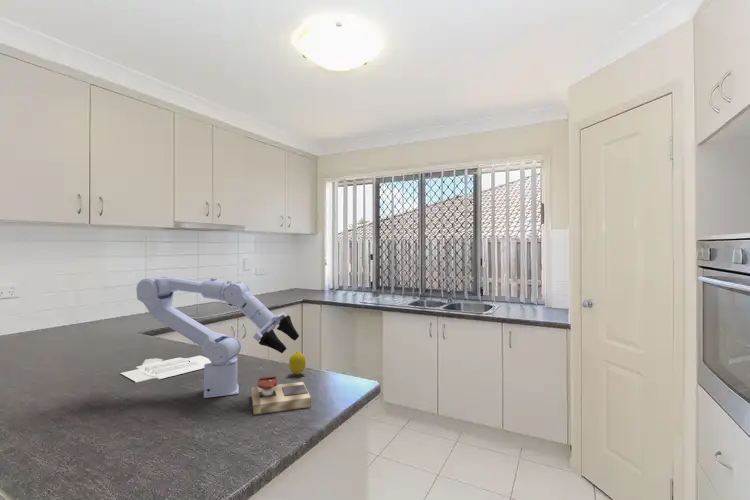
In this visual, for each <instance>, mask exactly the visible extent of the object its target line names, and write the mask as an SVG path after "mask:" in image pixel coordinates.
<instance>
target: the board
mask: <svg viewBox="0 0 750 500" xmlns="http://www.w3.org/2000/svg"><path fill="white" fill-rule="evenodd" d="M251 406H252V412H253V414H252V415H255V416H256V415H262V414H268V413H275V412H276V413H277V412H283V411H289V410H298V409H303V408H304V409H305V408H312V397H311V395H310V393H309V390H308V389H307V387H306V385H305V383H304V382H303V381H298V382H289V383H281V384H277V386H275V387H273V396H272V397H264V398H262V388H259V387H258V386H256V387H254V386H253V387H251Z"/></svg>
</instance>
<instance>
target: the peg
mask: <svg viewBox="0 0 750 500" xmlns="http://www.w3.org/2000/svg"><path fill="white" fill-rule="evenodd" d="M277 385H278V377H277V376H275V375H265V376H261V377H259V378H258V379H257V387H259V388H262V398H264V397H272V396H273V387H275V386H277Z"/></svg>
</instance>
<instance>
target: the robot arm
mask: <svg viewBox="0 0 750 500" xmlns="http://www.w3.org/2000/svg"><path fill="white" fill-rule="evenodd" d="M135 290H136V299H137V300H138V301H139V302H141V303H143V305H144V306H145V307H146V309H147V311H148V312H149V314H150V315H151V317H153V318H154V319H155V320H157V321H158V322H160V323H162V324H164V325H165V326H167V327H168V328H170V329H172V330H173V331H175V332H176V333H178V334H180V335H181V336H183V337H185V338H186V339H188V340H190V341H191V342H193V343H195V344H197V345H198V346H200V347H201V352H202V354H204V356H205V357H206V358H209V360H210V361H211V362H212V363H208V364H205V366H204V368H203V384H202V385H203V386H202V389H203V398H204V399H208V398H216V397H224V396H225V397H226V396H234V395H238V394H239V393H240V392H239V388H240V387H239V383H238V355H239V354H240V352H241V349H242V344H241V341H240V340H239V338H237V337H236V336H230V335H229V336H228V335H227V334H225V333H221V332H215V331H213V330H212V329H210V328H208V327H206V325H203V324H202V323H200V322H198V321H196V320H195V319H193V318H192V317H191V316H188V315H187V314H186V313H184V312H182V311H180V310H178V309H177V308H175V307H173V301H174V294H175V292H177V291H179V292H189V293H197V294H198V293H199V294H201V296H202V297H203V298H204V299H209V300H210V299H211V300H216V301H222V302H223V301H224V302H226V304H229V305H233V306H235V307H236V308H237V309H238V310H239V311H240V312H241V313H243V315H244V316H246V317H247V318H248V320H250V321H251V322H252V323H253V324H254V325H255V326H256V327H257V329H259V330H258V331H257V332H255V334H254V335H253V336H252V337H253V339H255V340H256V342H258V344H259V345H260V346H264V347H268V348H271V349H273V350H275V351H277V352H278V353H281V354H283V353H284V352H285V351H286V350H287V349H288V348H287V347H286V345H285V344H284V343H283V342H282V341H281V339H279V338H278V336H277V334H276V333H275V331H274V328H275V327H276V330H277V331H280V332H282V333H283V334H285V335H286V336H288V337H289V338H290V339H291V340H293V341H294V342H295V341H297V339H298V338H299V337H300V335H299V333H298V332H297V330H296V328H295V326H294V325H293V322H292V320H291V319H292V318H291V316H290V315H289V314H286V313H285V311H282V312H280V313H279V314H274V313H273V312H272V311H270V310H269V308H267V306H265V304H264V303H262V302H261V301H260V300H259V299H258V298H257V297H256V296H254V295H253V294H252V293H251V292H250V289H249V286H248V285H247V284H245V283H243V282H241V281H239V282H238V281H237V282H235V283H233V282H232V280H226V281H223V280H218V278H216V277H211V278H210V279H209V278H207V279H206V280H204V281H203V282H202V281H196V280H191V279H186V278H182V277H176V276H173V277H172V276H170V277H168V276H160V277H156V278H155V277H154V278H143V279H141V280H140V281H139V282H138V283H137V285H136V289H135ZM277 325H278V326H277Z"/></svg>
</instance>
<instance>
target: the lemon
mask: <svg viewBox="0 0 750 500" xmlns="http://www.w3.org/2000/svg"><path fill="white" fill-rule="evenodd" d="M288 367H289V370H290V371H291V373H293V374H295V375H296V376H298V375H299V374H300V373H302V372H303V371H304V370H305V367H306V358H305V355H304V354H303V353H302V352H299V351H296V352H294V353H292V355H291V356H290V357H289V362H288Z"/></svg>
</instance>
